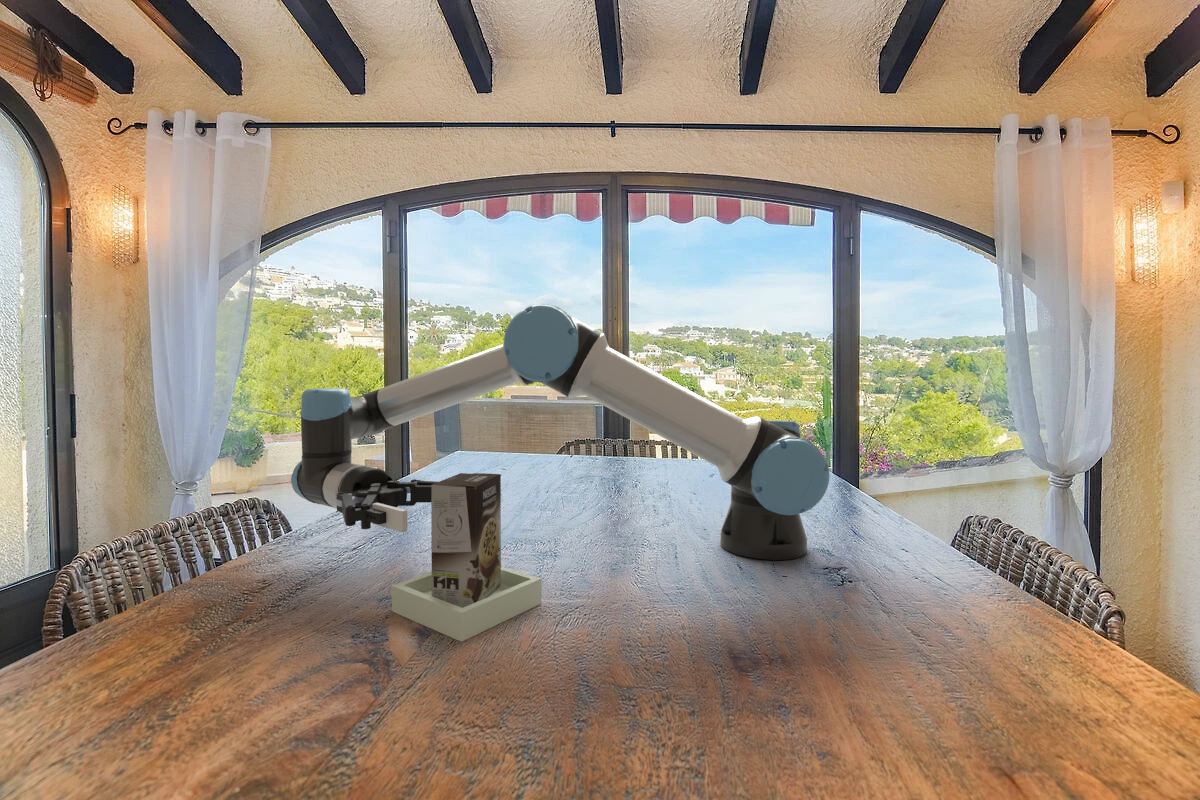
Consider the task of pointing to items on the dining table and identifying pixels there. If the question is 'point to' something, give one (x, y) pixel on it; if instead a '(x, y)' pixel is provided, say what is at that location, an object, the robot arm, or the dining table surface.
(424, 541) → the dining table surface
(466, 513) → the coffee box
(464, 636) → the tray
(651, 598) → the dining table surface
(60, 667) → the dining table surface
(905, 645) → the dining table surface
